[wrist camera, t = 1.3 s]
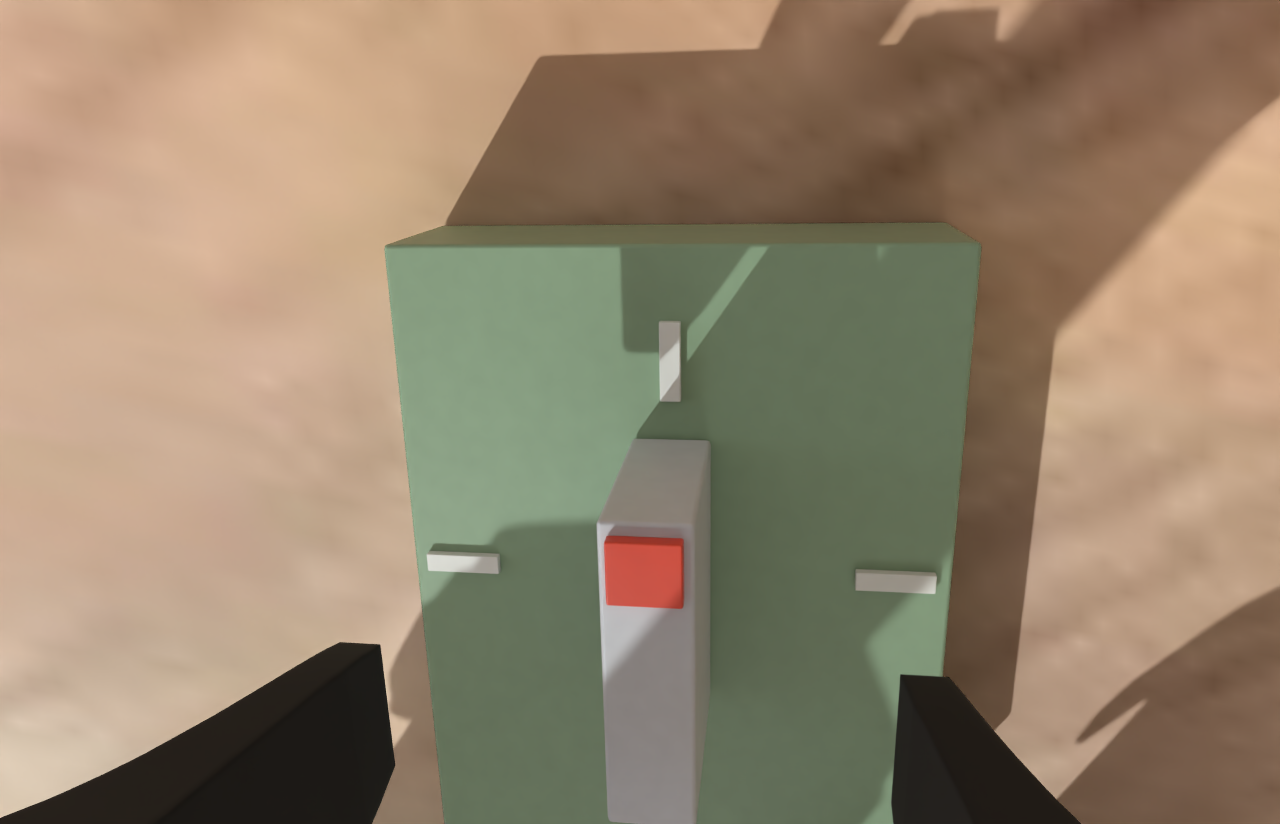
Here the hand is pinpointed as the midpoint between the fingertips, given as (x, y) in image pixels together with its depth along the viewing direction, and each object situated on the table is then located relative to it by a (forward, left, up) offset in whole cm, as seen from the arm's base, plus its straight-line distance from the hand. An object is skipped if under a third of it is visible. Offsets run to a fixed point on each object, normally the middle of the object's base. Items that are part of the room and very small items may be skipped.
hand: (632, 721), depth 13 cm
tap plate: (-1, 0, -8) cm, 8 cm away
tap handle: (0, 0, -5) cm, 5 cm away
